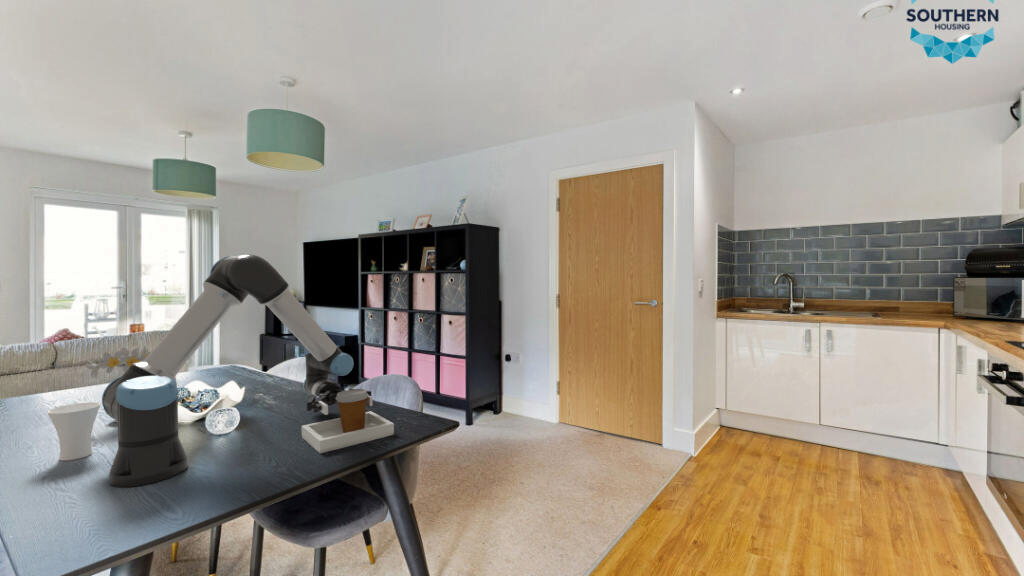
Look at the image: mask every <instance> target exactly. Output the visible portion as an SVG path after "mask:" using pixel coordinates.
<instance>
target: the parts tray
mask: <svg viewBox="0 0 1024 576" xmlns="http://www.w3.org/2000/svg"><path fill="white" fill-rule="evenodd" d="M394 435H395V423H394V422H392V421H390V420H388V419H387V418H384V417H382V416H381V415H379V414H377V413H375V412H373V411H366V413H365V426H364V429H361V430H356V431H352V432H348V433H343V429H342V423H341V418H340V417H337V418H333V419H326V420H322V421H319V422H318V421H317V422H314V423H309V424H303V425H301V438H302V439H303V440H305V441H306V442H307V443H308V444H309V445H310V446H311V447H312V448H313V449H314V450H316V452H318V453H319V454H323V453H327V452H328V453H329V452H331V451H335V450H340V449H343V448H347V447H351V446H355V445H358V444H364V443H366V442H370V441H374V440H378V439H382V438H385V437H389V436H394Z"/></svg>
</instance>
